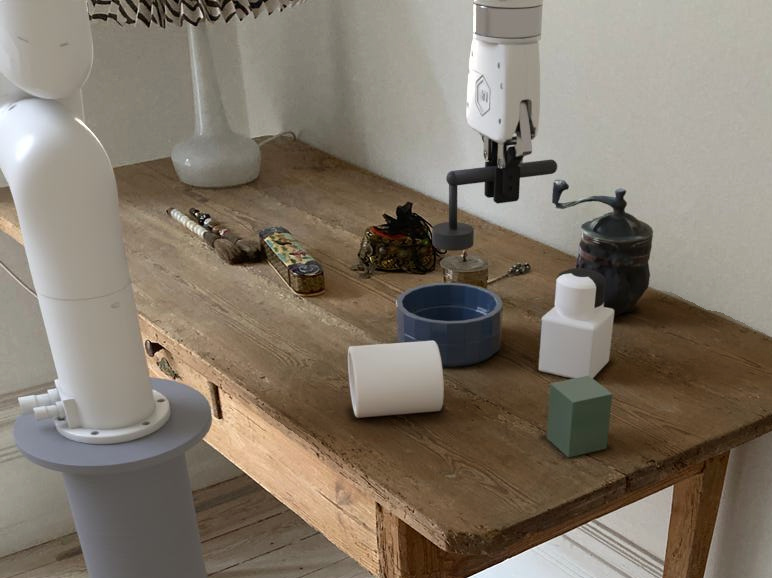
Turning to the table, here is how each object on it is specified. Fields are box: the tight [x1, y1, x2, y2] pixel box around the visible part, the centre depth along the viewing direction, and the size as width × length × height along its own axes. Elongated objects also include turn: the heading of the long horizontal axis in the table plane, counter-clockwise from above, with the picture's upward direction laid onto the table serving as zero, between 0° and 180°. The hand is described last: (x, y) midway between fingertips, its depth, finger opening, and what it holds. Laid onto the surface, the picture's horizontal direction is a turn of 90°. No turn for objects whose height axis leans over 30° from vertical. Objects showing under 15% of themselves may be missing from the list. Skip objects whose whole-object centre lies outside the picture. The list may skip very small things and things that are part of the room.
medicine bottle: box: [537, 267, 615, 379], centre depth 128 cm, size 7×7×12 cm
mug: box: [347, 341, 445, 419], centre depth 120 cm, size 12×10×8 cm
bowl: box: [395, 282, 504, 368], centre depth 134 cm, size 14×14×6 cm
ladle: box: [431, 159, 558, 252], centre depth 124 cm, size 16×5×8 cm, turn 116°
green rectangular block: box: [545, 376, 613, 458], centre depth 114 cm, size 5×5×7 cm
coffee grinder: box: [551, 179, 654, 319], centre depth 140 cm, size 13×15×18 cm
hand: (501, 197), depth 124 cm, fingers closed on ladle
